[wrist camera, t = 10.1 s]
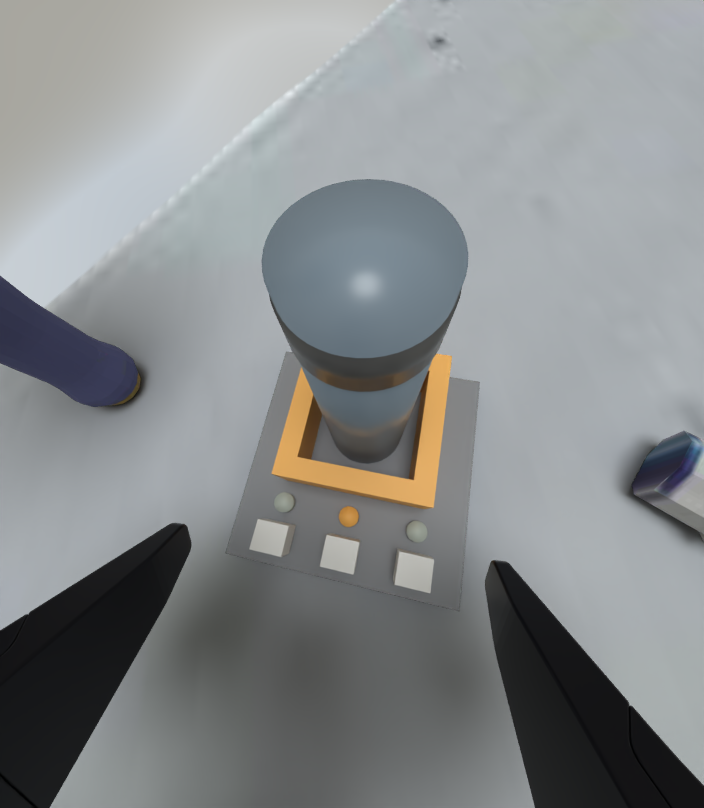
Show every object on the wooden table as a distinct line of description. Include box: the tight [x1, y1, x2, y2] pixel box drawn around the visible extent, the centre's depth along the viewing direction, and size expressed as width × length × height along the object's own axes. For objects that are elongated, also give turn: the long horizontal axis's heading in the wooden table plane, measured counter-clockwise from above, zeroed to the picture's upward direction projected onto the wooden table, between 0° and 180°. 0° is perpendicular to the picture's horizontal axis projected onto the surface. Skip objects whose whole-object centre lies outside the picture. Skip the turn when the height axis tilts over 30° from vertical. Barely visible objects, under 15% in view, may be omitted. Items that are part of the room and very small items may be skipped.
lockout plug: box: [262, 179, 468, 464], centre depth 12 cm, size 4×4×13 cm
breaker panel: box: [226, 352, 480, 611], centre depth 17 cm, size 12×12×4 cm
